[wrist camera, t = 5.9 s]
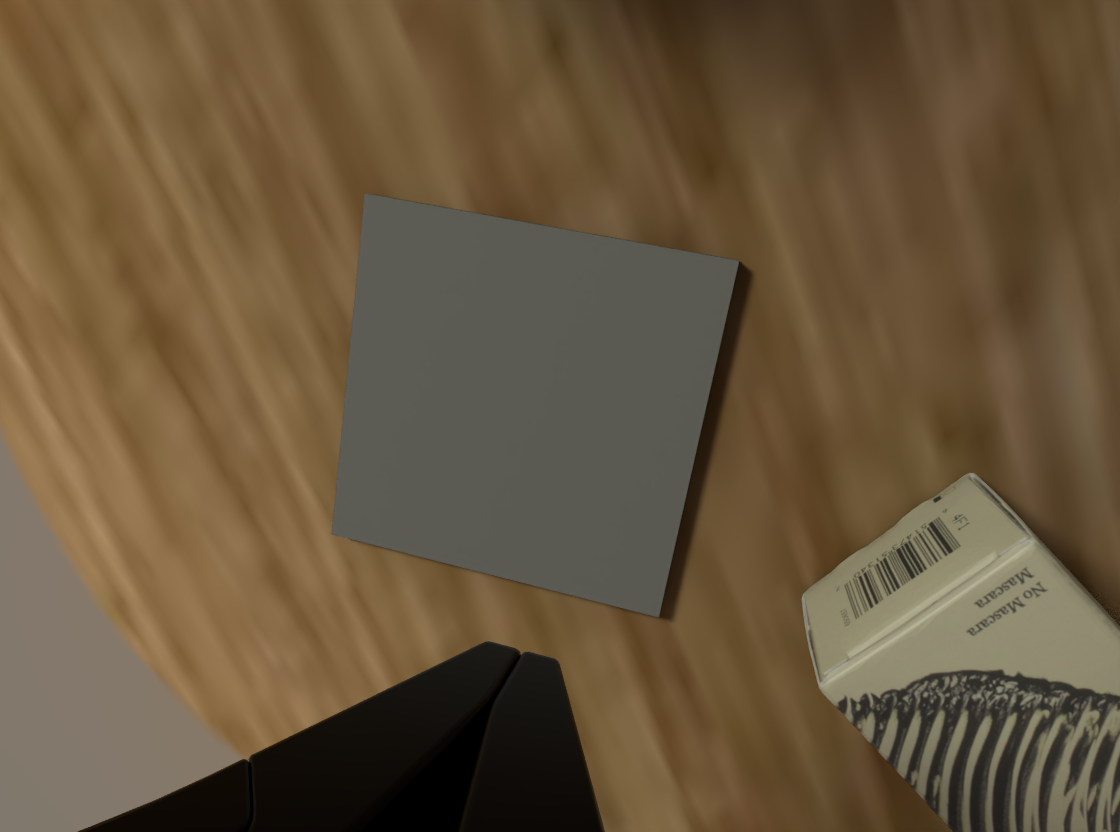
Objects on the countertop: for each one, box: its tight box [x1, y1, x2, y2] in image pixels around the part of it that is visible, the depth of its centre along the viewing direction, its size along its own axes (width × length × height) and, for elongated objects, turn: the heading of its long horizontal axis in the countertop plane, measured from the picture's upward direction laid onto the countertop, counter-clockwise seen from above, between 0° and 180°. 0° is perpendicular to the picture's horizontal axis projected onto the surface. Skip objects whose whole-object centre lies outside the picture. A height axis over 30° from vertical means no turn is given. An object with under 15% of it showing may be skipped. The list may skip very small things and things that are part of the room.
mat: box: [332, 194, 739, 617], centre depth 20 cm, size 9×9×1 cm
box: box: [802, 473, 1120, 832], centre depth 17 cm, size 5×4×13 cm
